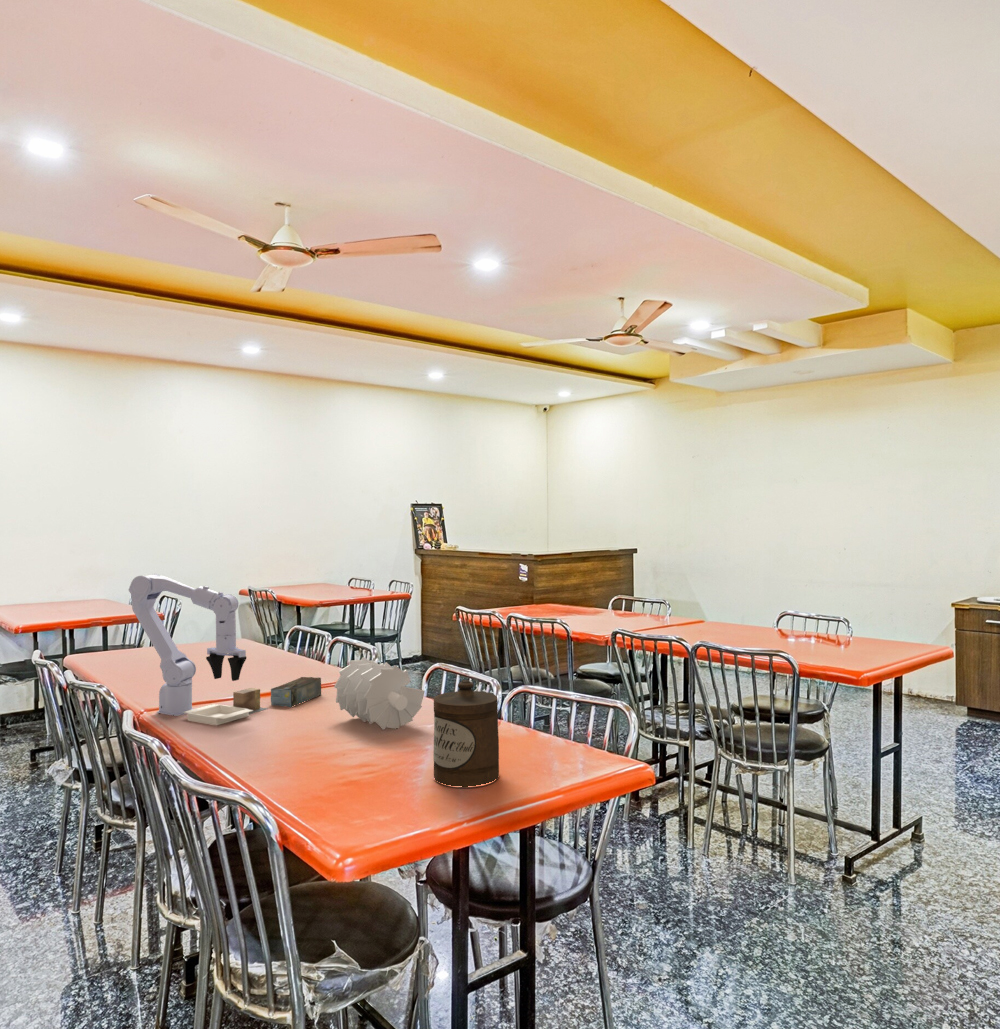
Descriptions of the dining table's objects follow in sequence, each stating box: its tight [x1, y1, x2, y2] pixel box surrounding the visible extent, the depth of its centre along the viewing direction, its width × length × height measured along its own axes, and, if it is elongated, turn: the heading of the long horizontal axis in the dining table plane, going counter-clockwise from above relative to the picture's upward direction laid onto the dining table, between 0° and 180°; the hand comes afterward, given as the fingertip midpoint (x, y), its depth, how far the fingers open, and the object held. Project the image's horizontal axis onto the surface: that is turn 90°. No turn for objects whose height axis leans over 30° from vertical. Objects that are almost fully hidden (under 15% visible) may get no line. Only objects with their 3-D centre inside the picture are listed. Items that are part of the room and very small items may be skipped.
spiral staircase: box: [333, 656, 426, 731], centre depth 216 cm, size 18×18×25 cm
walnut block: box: [232, 687, 261, 710], centre depth 230 cm, size 7×4×6 cm, turn 152°
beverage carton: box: [270, 676, 322, 708], centre depth 244 cm, size 8×19×7 cm, turn 163°
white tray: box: [183, 703, 253, 726], centre depth 220 cm, size 17×12×2 cm
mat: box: [249, 706, 269, 715], centre depth 230 cm, size 9×9×1 cm
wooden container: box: [432, 679, 500, 787], centre depth 169 cm, size 15×15×22 cm
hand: (226, 679), depth 227 cm, fingers open, 7 cm apart
